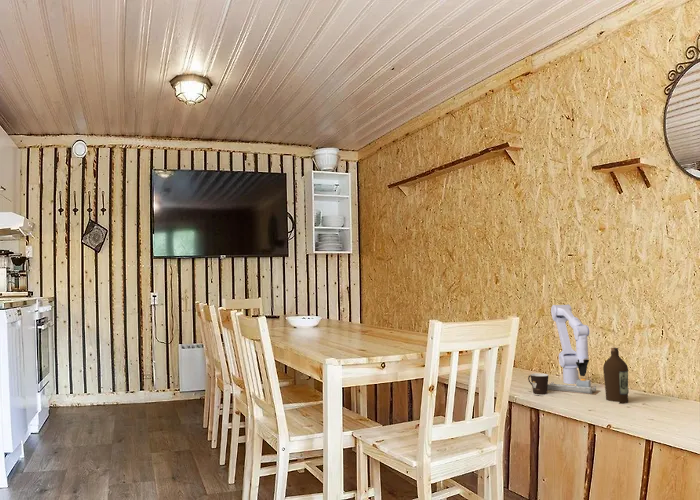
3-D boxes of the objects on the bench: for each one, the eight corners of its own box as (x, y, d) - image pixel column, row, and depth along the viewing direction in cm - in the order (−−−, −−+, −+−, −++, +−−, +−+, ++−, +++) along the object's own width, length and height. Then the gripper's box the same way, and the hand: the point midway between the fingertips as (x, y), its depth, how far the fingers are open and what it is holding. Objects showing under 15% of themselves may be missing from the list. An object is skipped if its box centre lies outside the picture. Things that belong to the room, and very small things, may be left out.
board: (549, 387, 300) (548, 386, 300) (600, 392, 284) (600, 390, 284) (542, 391, 291) (542, 389, 291) (595, 396, 276) (595, 394, 276)
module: (578, 388, 296) (578, 377, 296) (590, 389, 292) (590, 378, 292) (576, 390, 292) (576, 378, 293) (588, 391, 289) (588, 379, 289)
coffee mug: (551, 396, 278) (550, 376, 279) (534, 396, 278) (533, 376, 279) (544, 391, 290) (543, 372, 290) (527, 392, 290) (526, 372, 291)
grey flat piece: (552, 386, 298) (551, 382, 298) (596, 390, 285) (595, 386, 285) (546, 389, 291) (546, 384, 291) (591, 394, 278) (591, 389, 278)
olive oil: (600, 401, 266) (597, 348, 267) (613, 397, 272) (610, 346, 273) (621, 405, 257) (618, 350, 258) (634, 401, 263) (631, 348, 264)
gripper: (575, 346, 302) (576, 372, 301) (572, 349, 289) (573, 376, 288) (589, 347, 298) (590, 372, 298) (587, 350, 285) (588, 377, 285)
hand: (583, 374), depth 293 cm, fingers open, 7 cm apart
